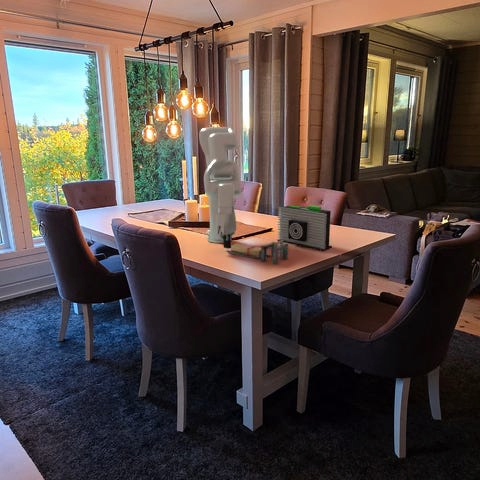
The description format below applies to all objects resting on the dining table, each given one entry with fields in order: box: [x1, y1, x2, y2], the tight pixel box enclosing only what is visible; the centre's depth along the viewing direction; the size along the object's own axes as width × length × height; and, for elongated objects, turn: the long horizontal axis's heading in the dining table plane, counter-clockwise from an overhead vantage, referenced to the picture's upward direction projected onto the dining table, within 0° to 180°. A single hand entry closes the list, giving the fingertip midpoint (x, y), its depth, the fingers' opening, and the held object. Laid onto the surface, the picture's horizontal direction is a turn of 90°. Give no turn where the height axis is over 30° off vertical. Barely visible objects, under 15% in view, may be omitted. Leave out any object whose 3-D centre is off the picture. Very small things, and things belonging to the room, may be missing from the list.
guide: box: [227, 250, 271, 261], centre depth 185 cm, size 19×7×1 cm, turn 53°
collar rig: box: [260, 240, 289, 265], centre depth 176 cm, size 8×11×8 cm
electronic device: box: [276, 204, 333, 252], centre depth 199 cm, size 28×11×20 cm, turn 45°
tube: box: [230, 243, 261, 257], centre depth 185 cm, size 16×4×4 cm, turn 51°
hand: (227, 247), depth 192 cm, fingers closed
